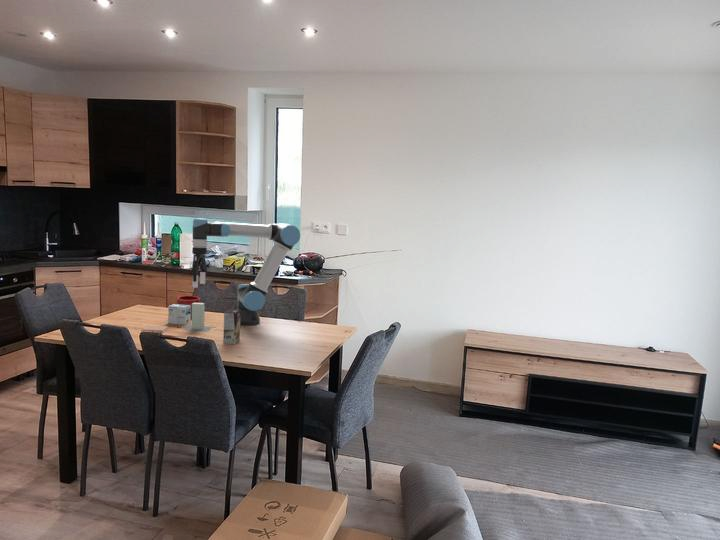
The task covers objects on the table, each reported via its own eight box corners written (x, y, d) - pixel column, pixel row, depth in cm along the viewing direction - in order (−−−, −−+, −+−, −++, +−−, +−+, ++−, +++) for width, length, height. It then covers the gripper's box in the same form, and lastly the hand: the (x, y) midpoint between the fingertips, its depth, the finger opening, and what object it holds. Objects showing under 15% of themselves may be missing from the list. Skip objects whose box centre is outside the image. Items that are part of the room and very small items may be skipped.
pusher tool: (204, 327, 304) (204, 303, 303) (202, 329, 301) (202, 304, 299) (193, 327, 304) (193, 302, 303) (191, 328, 301) (191, 303, 299)
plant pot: (172, 317, 329) (172, 297, 327) (186, 313, 341) (187, 294, 339) (189, 320, 324) (190, 300, 323) (204, 316, 336) (204, 297, 335)
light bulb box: (190, 323, 316) (191, 304, 315) (185, 325, 310) (186, 307, 308) (173, 321, 317) (173, 303, 316) (167, 324, 311) (168, 305, 309)
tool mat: (213, 327, 309) (213, 326, 308) (207, 332, 297) (207, 331, 297) (188, 326, 309) (188, 325, 309) (181, 331, 297) (181, 330, 297)
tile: (167, 326, 298) (147, 325, 298) (162, 330, 289) (141, 329, 289) (167, 330, 298) (147, 329, 298) (162, 334, 290) (141, 333, 289)
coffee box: (235, 344, 276) (236, 313, 274) (222, 343, 276) (223, 312, 274) (240, 340, 285) (240, 309, 283) (227, 339, 285) (228, 309, 283)
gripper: (199, 244, 310) (198, 281, 312) (185, 248, 285) (184, 288, 287) (212, 245, 309) (212, 282, 312) (199, 249, 285) (198, 289, 287)
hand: (198, 285), depth 300 cm, fingers open, 13 cm apart
